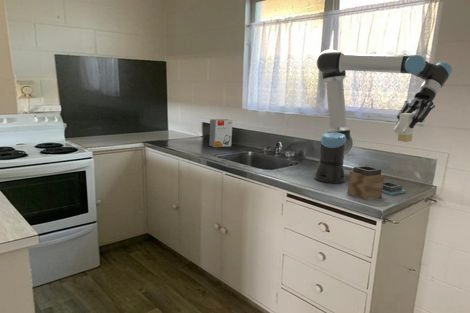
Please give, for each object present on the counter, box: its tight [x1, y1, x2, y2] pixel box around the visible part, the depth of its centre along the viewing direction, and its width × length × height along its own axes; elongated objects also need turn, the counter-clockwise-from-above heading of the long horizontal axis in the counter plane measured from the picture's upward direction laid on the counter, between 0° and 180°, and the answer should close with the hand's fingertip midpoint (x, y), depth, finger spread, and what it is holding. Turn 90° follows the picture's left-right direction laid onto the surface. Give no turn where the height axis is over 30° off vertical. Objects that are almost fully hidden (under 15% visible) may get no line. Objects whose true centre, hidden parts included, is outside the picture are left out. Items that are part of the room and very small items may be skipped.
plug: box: [397, 113, 415, 143], centre depth 150 cm, size 4×4×12 cm
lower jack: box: [382, 180, 406, 196], centre depth 157 cm, size 10×10×3 cm
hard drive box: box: [208, 118, 234, 148], centre depth 255 cm, size 16×8×20 cm, turn 125°
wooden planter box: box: [347, 165, 385, 201], centre depth 149 cm, size 10×10×12 cm
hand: (399, 132), depth 149 cm, fingers closed on plug, 4 cm apart
